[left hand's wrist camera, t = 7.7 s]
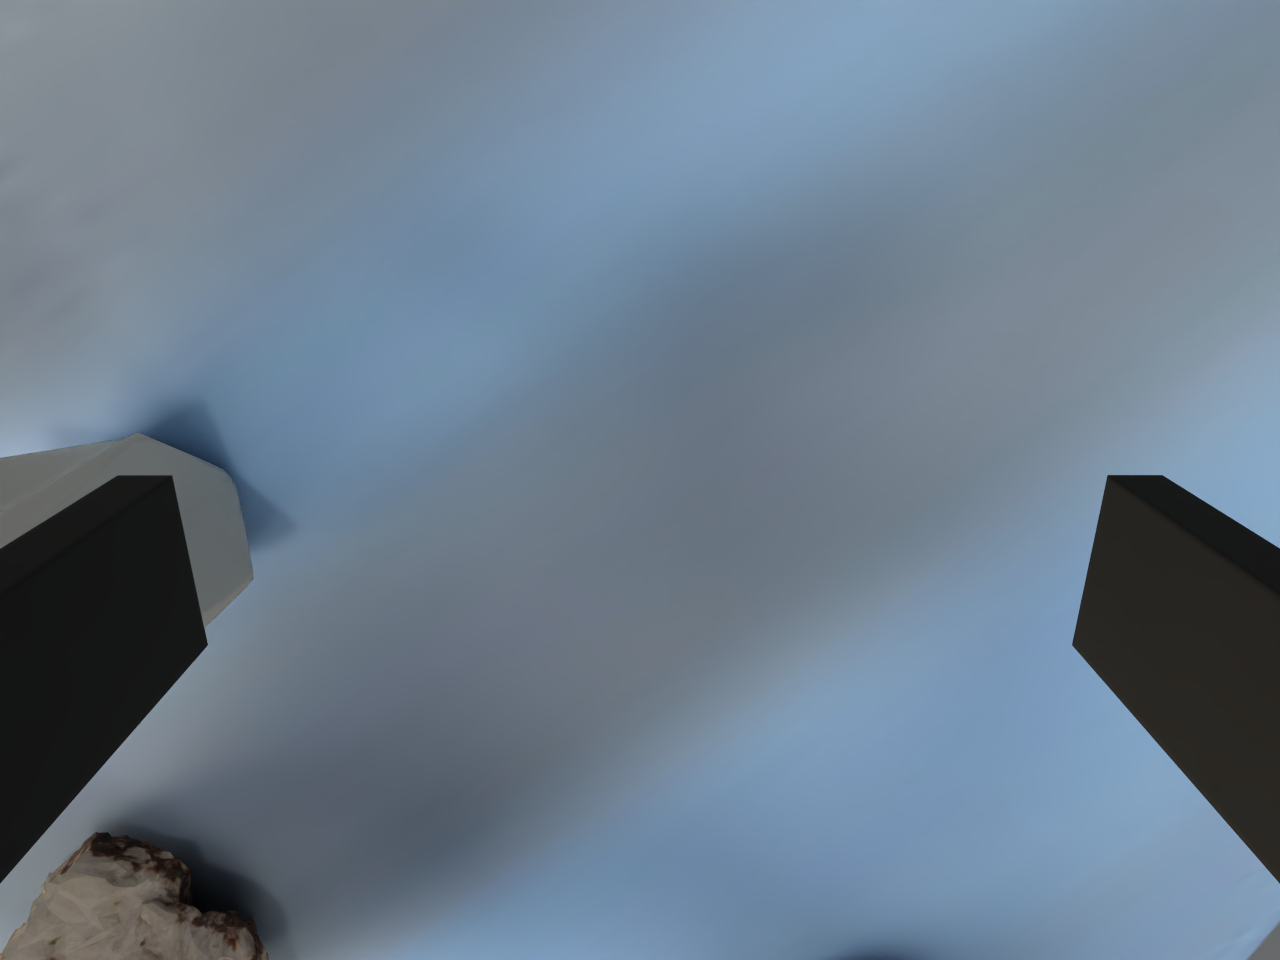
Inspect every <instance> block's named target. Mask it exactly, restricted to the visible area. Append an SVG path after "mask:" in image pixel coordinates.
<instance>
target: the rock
mask: <svg viewBox="0 0 1280 960" xmlns="http://www.w3.org/2000/svg"><path fill="white" fill-rule="evenodd" d="M192 898H193V896H192V888H191V871H190V870H189V869H188V868H187V867H186V866H185V865H184V864H183V863H182V862H181V861H180V860H178V859H176V858H174V857H173V855H172V854H171V853H170V852H166V851H162V850H160V849H158V848H157V847H155V846H153V845H151V844H150V843H149V842H148V841H147V842H141V841H139V840H137V839H131V838H130V837H129V836H127V835H125V836H118V837H111V836H110V834H109V833H108V832H107V833H97V832H96V833H94V834H93V835H92V836H91V837H90V838H89V839H87V840H86V841H85V842H84V843H83V845H82V847H81V848H80V849H79V850H78V851H76V852H75V853H74V854H73V855H72V856H71V857H70V858H69V859H68V860H67V861H66V862H64V863H63V864H62V865H61V866H60V867H59V868H58V869H57V870H56V871H55V872H54V873H49V875H48V877H47V878H46V880H45V882H44V884H43V885H42V892H41V894H40V896H39V897H38V898H37V899H36V900H34V901H33V903H32V907H31V912H30V916H29V918H28V920H27V922H26V923H23V925H22V926H21V928H18V929H16V930H15V931H14V933H13V935H12V936H11V938H10V940H9V941H8V943H7V945H6V946H5V948H4V949H3V951H2V952H1V954H0V960H269V957H268V953H267V950H266V948H265V947H264V946H263V945H262V943H261V942H260V939H259V936H258V935H257V931H256V926H255V922H254V920H253V918H248V919H244V920H241V919H240V918H239V916H238V913H237V911H231V910H228V911H224V912H217V911H208V912H204V913H201V912H200V911H199V910H197V909H196V908H195V907H193V906H192Z"/></svg>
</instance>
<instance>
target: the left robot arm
mask: <svg viewBox="0 0 1280 960" xmlns="http://www.w3.org/2000/svg"><path fill="white" fill-rule="evenodd" d="M207 645H208V643H207V639H206V634H205V629H204V624H203V619H202V615H201V610H200V605H199V600H198V596H197V591H196V586H195V581H194V576H193V572H192V567H191V562H190V557H189V553H188V548H187V543H186V538H185V534H184V529H183V524H182V519H181V514H180V510H179V505H178V500H177V495H176V491H175V486H174V481H173V476H172V475H117V476H116V477H114V478H113V479H111V480H109V481H108V482H106V483H105V484H103V485H101V486H100V487H98V488H97V489H95V490H93V491H92V492H90V493H89V494H87V495H85V496H84V497H82V498H81V499H79V500H77V501H76V502H74V503H73V504H71V505H69V506H68V507H66V508H65V509H63V510H61V511H60V512H58V513H57V514H55V515H53V516H52V517H50V518H49V519H47V520H45V521H44V522H42V523H40V524H39V525H37V526H36V527H34V528H32V529H31V530H29V531H28V532H26V533H24V534H23V535H21V536H20V537H18V538H16V539H15V540H13V541H12V542H10V543H8V544H7V545H5V546H4V547H2V548H0V883H1V882H2V881H3V880H4V878H5V877H6V876H7V875H8V874H9V873H10V872H11V870H12V869H13V868H14V867H15V866H16V865H17V863H18V862H19V861H20V860H21V859H22V858H23V857H24V855H25V854H26V853H27V852H28V851H29V850H30V849H31V847H32V846H33V845H34V844H35V843H36V842H37V841H38V839H39V838H40V837H41V836H42V835H43V834H44V832H45V831H46V830H47V829H48V828H49V827H50V826H51V824H52V823H53V822H54V821H55V820H56V819H57V818H58V816H59V815H60V814H61V813H62V812H63V811H64V810H65V808H66V807H67V806H68V805H69V804H70V803H71V802H72V800H73V799H74V798H75V797H76V796H77V795H78V793H79V792H80V791H81V790H82V789H83V788H84V787H85V785H86V784H87V783H88V782H89V781H90V780H91V779H92V777H93V776H94V775H95V774H96V773H97V772H98V771H99V769H100V768H101V767H102V766H103V765H104V764H105V763H106V761H107V760H108V759H109V758H110V757H111V756H112V754H113V753H114V752H115V751H116V750H117V749H118V748H119V746H120V745H121V744H122V743H123V742H124V741H125V740H126V738H127V737H128V736H129V735H130V734H131V733H132V732H133V730H134V729H135V728H136V727H137V726H138V725H139V724H140V722H141V721H142V720H143V719H144V718H145V717H146V715H147V714H148V713H149V712H150V711H151V710H152V709H153V707H154V706H155V705H156V704H157V703H158V702H159V701H160V699H161V698H162V697H163V696H164V695H165V694H166V693H167V691H168V690H169V689H170V688H171V687H172V686H173V684H174V683H175V682H176V681H177V680H178V679H179V678H180V676H181V675H182V674H183V673H184V672H185V671H186V670H187V668H188V667H189V666H190V665H191V664H192V663H193V662H194V660H195V659H196V658H197V657H198V656H199V655H200V654H201V652H202V651H203V650H204V649H205V648H206V647H207ZM1072 645H1073V647H1074V648H1075V649H1076V650H1077V651H1078V652H1079V654H1080V655H1081V656H1082V657H1083V658H1084V659H1085V660H1086V662H1087V663H1088V664H1089V665H1090V666H1091V667H1092V668H1093V670H1094V671H1095V672H1096V673H1097V674H1098V675H1099V676H1100V678H1101V679H1102V680H1103V681H1104V682H1105V683H1106V684H1107V686H1108V687H1109V688H1110V689H1111V690H1112V691H1113V693H1114V694H1115V695H1116V696H1117V697H1118V698H1119V699H1120V701H1121V702H1122V703H1123V704H1124V705H1125V706H1126V707H1127V709H1128V710H1129V711H1130V712H1131V713H1132V714H1133V715H1134V717H1135V718H1136V719H1137V720H1138V721H1139V722H1140V724H1141V725H1142V726H1143V727H1144V728H1145V729H1146V730H1147V732H1148V733H1149V734H1150V735H1151V736H1152V737H1153V738H1154V740H1155V741H1156V742H1157V743H1158V744H1159V745H1160V746H1161V748H1162V749H1163V750H1164V751H1165V752H1166V753H1167V754H1168V756H1169V757H1170V758H1171V759H1172V760H1173V761H1174V763H1175V764H1176V765H1177V766H1178V767H1179V768H1180V769H1181V771H1182V772H1183V773H1184V774H1185V775H1186V776H1187V777H1188V779H1189V780H1190V781H1191V782H1192V783H1193V784H1194V785H1195V787H1196V788H1197V789H1198V790H1199V791H1200V792H1201V793H1202V795H1203V796H1204V797H1205V798H1206V799H1207V800H1208V802H1209V803H1210V804H1211V805H1212V806H1213V807H1214V808H1215V810H1216V811H1217V812H1218V813H1219V814H1220V815H1221V816H1222V818H1223V819H1224V820H1225V821H1226V822H1227V823H1228V824H1229V826H1230V827H1231V828H1232V829H1233V830H1234V831H1235V832H1236V834H1237V835H1238V836H1239V837H1240V838H1241V839H1242V841H1243V842H1244V843H1245V844H1246V845H1247V846H1248V847H1249V849H1250V850H1251V851H1252V852H1253V853H1254V854H1255V855H1256V857H1257V858H1258V859H1259V860H1260V861H1261V862H1262V863H1263V865H1264V866H1265V867H1266V868H1267V869H1268V870H1269V872H1270V873H1271V874H1272V875H1273V876H1274V877H1275V878H1276V880H1277V881H1278V882H1279V883H1280V548H1278V547H1276V546H1275V545H1273V544H1272V543H1270V542H1268V541H1267V540H1265V539H1264V538H1262V537H1260V536H1259V535H1257V534H1256V533H1254V532H1252V531H1251V530H1249V529H1248V528H1246V527H1244V526H1243V525H1241V524H1240V523H1238V522H1236V521H1235V520H1233V519H1231V518H1230V517H1228V516H1227V515H1225V514H1223V513H1222V512H1220V511H1219V510H1217V509H1215V508H1214V507H1212V506H1211V505H1209V504H1207V503H1206V502H1204V501H1203V500H1201V499H1199V498H1198V497H1196V496H1195V495H1193V494H1191V493H1190V492H1188V491H1187V490H1185V489H1183V488H1182V487H1180V486H1179V485H1177V484H1175V483H1174V482H1172V481H1171V480H1169V479H1167V478H1166V477H1164V476H1163V475H1108V476H1107V481H1106V486H1105V491H1104V495H1103V500H1102V505H1101V510H1100V514H1099V519H1098V524H1097V529H1096V534H1095V538H1094V543H1093V548H1092V553H1091V557H1090V562H1089V567H1088V572H1087V576H1086V581H1085V586H1084V591H1083V596H1082V600H1081V605H1080V610H1079V615H1078V619H1077V624H1076V629H1075V634H1074V639H1073V643H1072Z"/></svg>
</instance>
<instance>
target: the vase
mask: <svg viewBox="0 0 1280 960" xmlns="http://www.w3.org/2000/svg"><path fill="white" fill-rule="evenodd" d="M117 475H172V476H173V481H174V486H175V491H176V495H177V500H178V505H179V510H180V514H181V519H182V524H183V529H184V534H185V538H186V543H187V548H188V553H189V557H190V562H191V567H192V572H193V576H194V581H195V586H196V591H197V596H198V600H199V605H200V610H201V615H202V619H203V624H204V628H205V627H206V626H207V625H208V624H209V623H210V622H211V621H212V620H213V619H214V618H215V617H216V616H217V615H218V614H220V613H221V612H222V611H223V610H224V609H225V608H226V607H227V606H228V605H229V604H230V603H231V602H232V601H233V600H234V599H235V598H236V597H237V596H238V595H239V594H240V593H241V592H242V591H243V590H244V589H245V588H246V587H247V586H248V585H249V584H250V582H251V581H252V579H253V568H252V562H251V557H250V552H249V546H248V541H247V536H246V531H245V526H244V521H243V515H242V510H241V505H240V501H239V496H238V491H237V487H236V485H235V483H234V481H233V480H232V478H231V477H230V476H229V475H228V473H227V472H226V471H225V470H224V469H222V468H219V467H217V466H215V465H213V464H211V463H208V462H206V461H204V460H201V459H199V458H197V457H195V456H192V455H190V454H188V453H185V452H183V451H181V450H178V449H176V448H174V447H171V446H169V445H167V444H164V443H162V442H160V441H157V440H155V439H153V438H150V437H148V436H145V435H143V434H140V433H138V432H137V433H135V434H133V435H131V436H129V437H126V438H121V439H116V440H110V441H104V442H98V443H92V444H85V445H79V446H73V447H66V448H60V449H54V450H47V451H41V452H35V453H28V454H22V455H16V456H10V457H3V458H0V548H2V547H4V546H5V545H7V544H8V543H10V542H12V541H13V540H15V539H16V538H18V537H20V536H21V535H23V534H24V533H26V532H28V531H29V530H31V529H32V528H34V527H36V526H37V525H39V524H40V523H42V522H44V521H45V520H47V519H49V518H50V517H52V516H53V515H55V514H57V513H58V512H60V511H61V510H63V509H65V508H66V507H68V506H69V505H71V504H73V503H74V502H76V501H77V500H79V499H81V498H82V497H84V496H85V495H87V494H89V493H90V492H92V491H93V490H95V489H97V488H98V487H100V486H101V485H103V484H105V483H106V482H108V481H109V480H111V479H113V478H114V477H116V476H117Z"/></svg>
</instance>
